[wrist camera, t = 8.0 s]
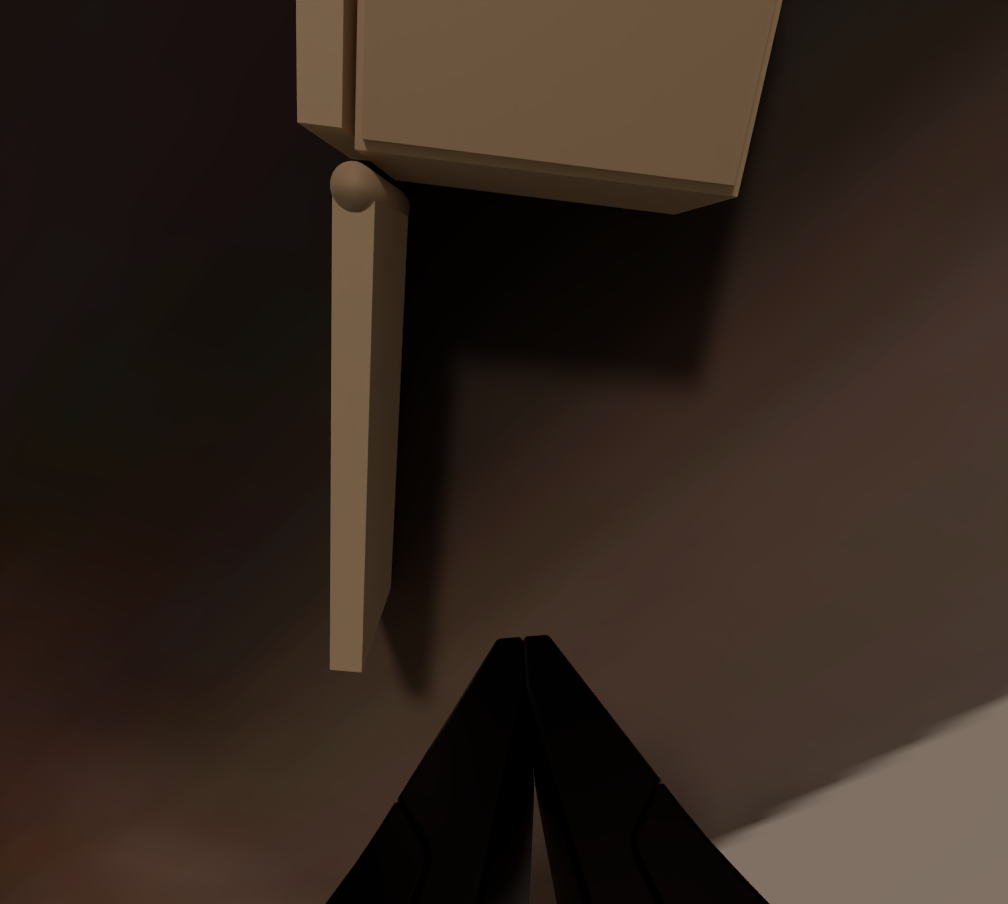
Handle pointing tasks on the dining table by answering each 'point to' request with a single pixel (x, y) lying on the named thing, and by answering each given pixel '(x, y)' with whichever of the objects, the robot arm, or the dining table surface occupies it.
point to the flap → (364, 401)
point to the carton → (541, 94)
